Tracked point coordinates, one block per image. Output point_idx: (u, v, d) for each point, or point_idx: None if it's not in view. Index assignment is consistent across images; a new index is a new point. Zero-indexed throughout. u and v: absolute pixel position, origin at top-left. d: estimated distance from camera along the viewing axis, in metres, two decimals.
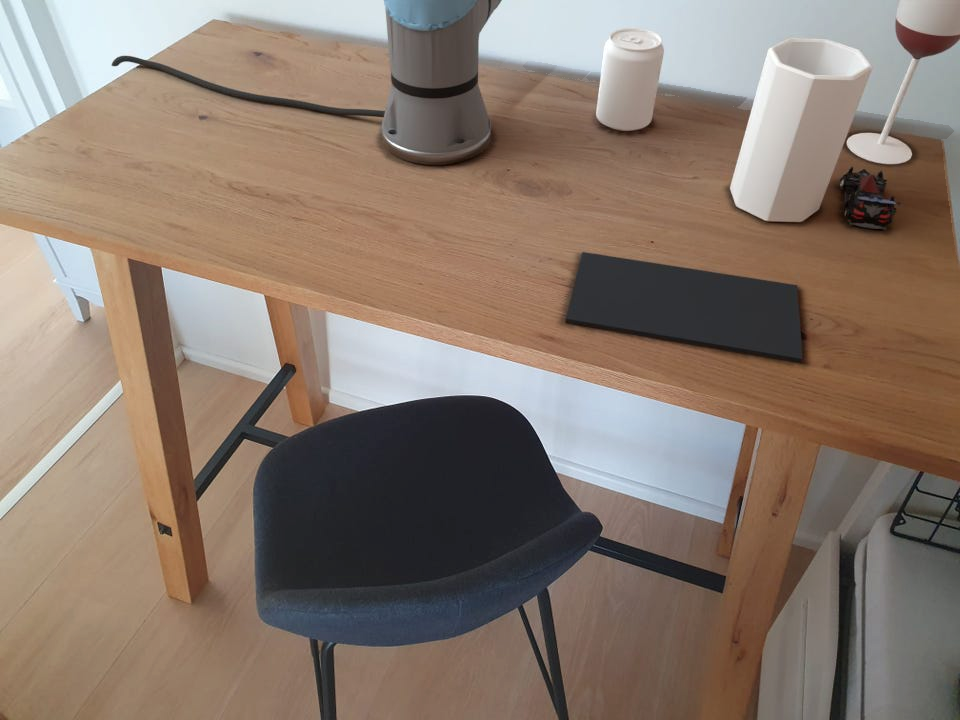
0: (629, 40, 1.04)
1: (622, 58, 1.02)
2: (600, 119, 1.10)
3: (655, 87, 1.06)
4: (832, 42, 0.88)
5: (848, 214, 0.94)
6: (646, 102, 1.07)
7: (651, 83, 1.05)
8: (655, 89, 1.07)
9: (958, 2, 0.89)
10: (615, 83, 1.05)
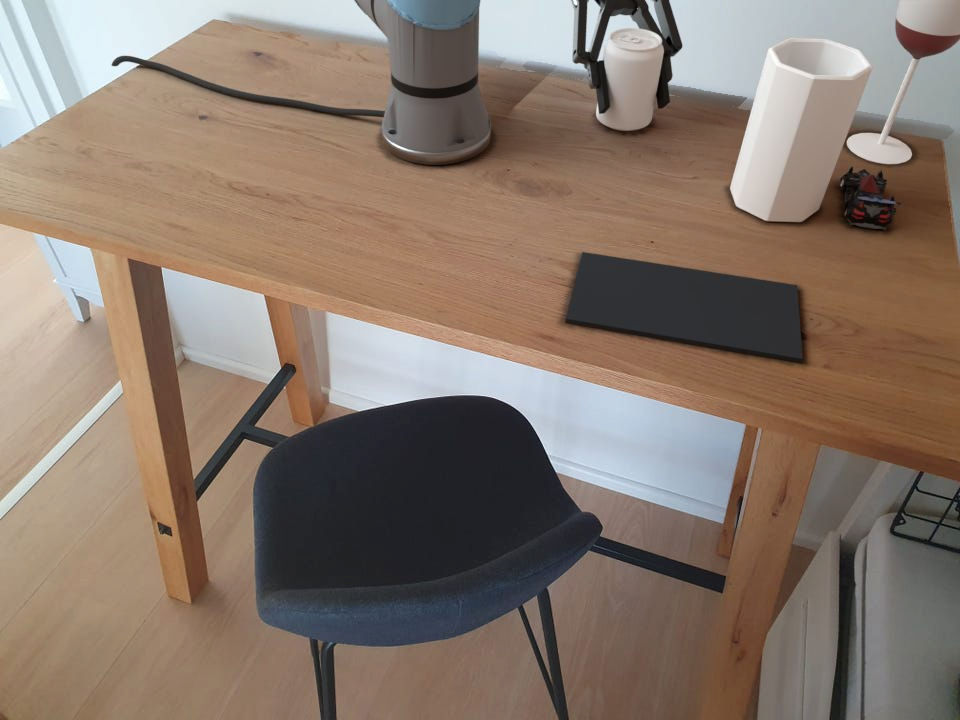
0: (629, 40, 1.04)
1: (622, 58, 1.02)
2: (600, 119, 1.10)
3: (655, 87, 1.06)
4: (832, 42, 0.88)
5: (848, 214, 0.94)
6: (646, 102, 1.07)
7: (651, 83, 1.05)
8: (655, 89, 1.07)
9: (958, 2, 0.89)
10: (615, 83, 1.05)
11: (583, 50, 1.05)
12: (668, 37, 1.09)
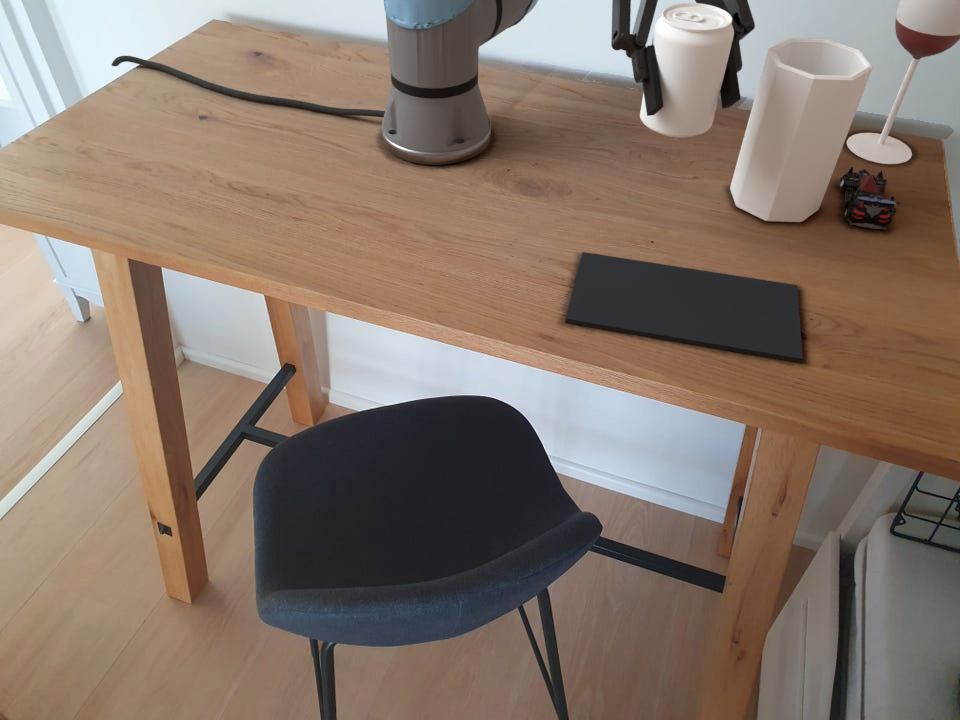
0: (688, 18, 0.78)
1: (681, 42, 0.77)
2: (647, 123, 0.85)
3: (721, 80, 0.81)
4: (832, 42, 0.88)
5: (848, 214, 0.94)
6: (710, 100, 0.81)
7: (717, 75, 0.80)
8: (721, 83, 0.81)
9: (958, 2, 0.89)
10: (670, 75, 0.80)
11: (627, 32, 0.80)
12: (735, 15, 0.83)
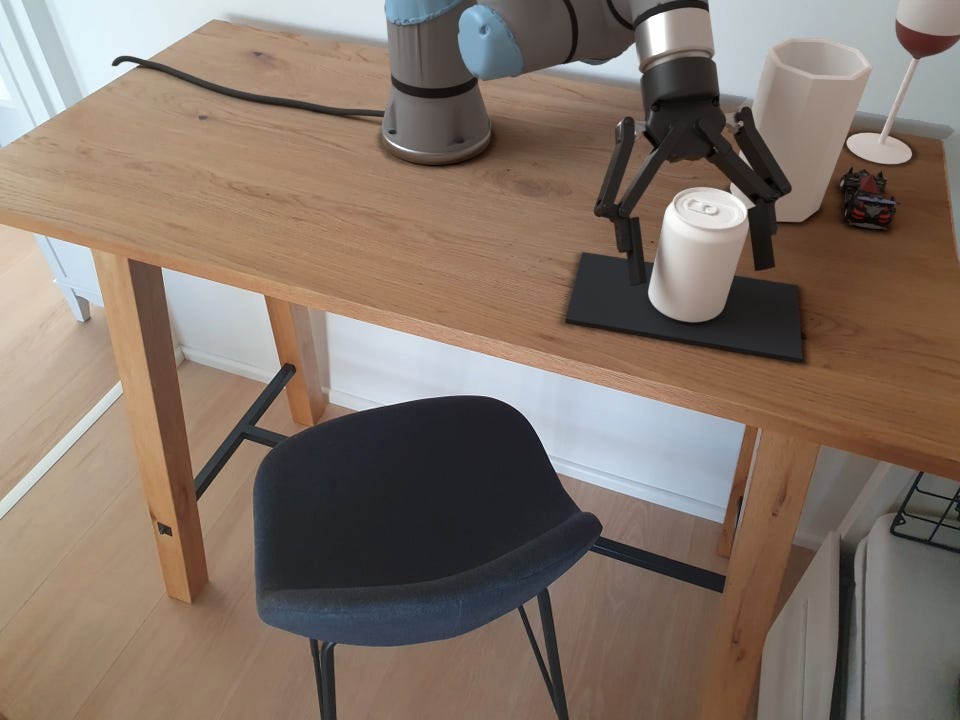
0: (701, 210, 0.74)
1: (692, 239, 0.73)
2: (655, 304, 0.81)
3: (734, 269, 0.77)
4: (832, 42, 0.88)
5: (848, 214, 0.94)
6: (722, 289, 0.77)
7: (730, 267, 0.75)
8: (734, 271, 0.77)
9: (958, 2, 0.89)
10: (680, 267, 0.75)
11: (610, 204, 0.75)
12: (766, 177, 0.79)
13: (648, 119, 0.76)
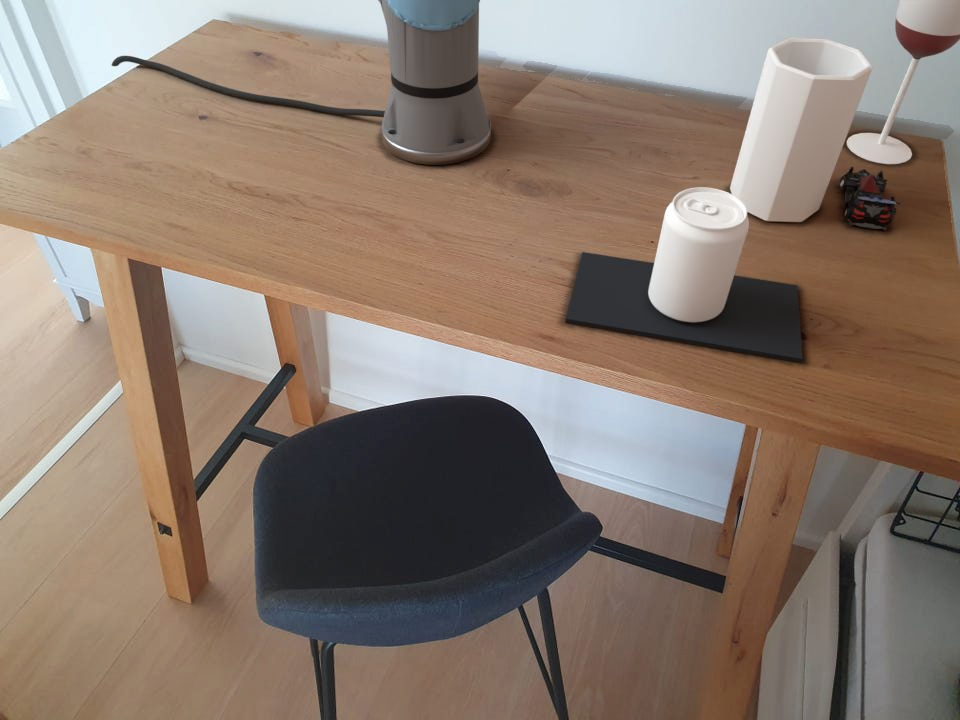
0: (701, 210, 0.74)
1: (692, 239, 0.73)
2: (655, 304, 0.81)
3: (734, 269, 0.77)
4: (832, 42, 0.88)
5: (848, 214, 0.94)
6: (722, 289, 0.77)
7: (730, 267, 0.75)
8: (734, 271, 0.77)
9: (958, 2, 0.89)
10: (680, 267, 0.75)
11: None
12: None
13: None
